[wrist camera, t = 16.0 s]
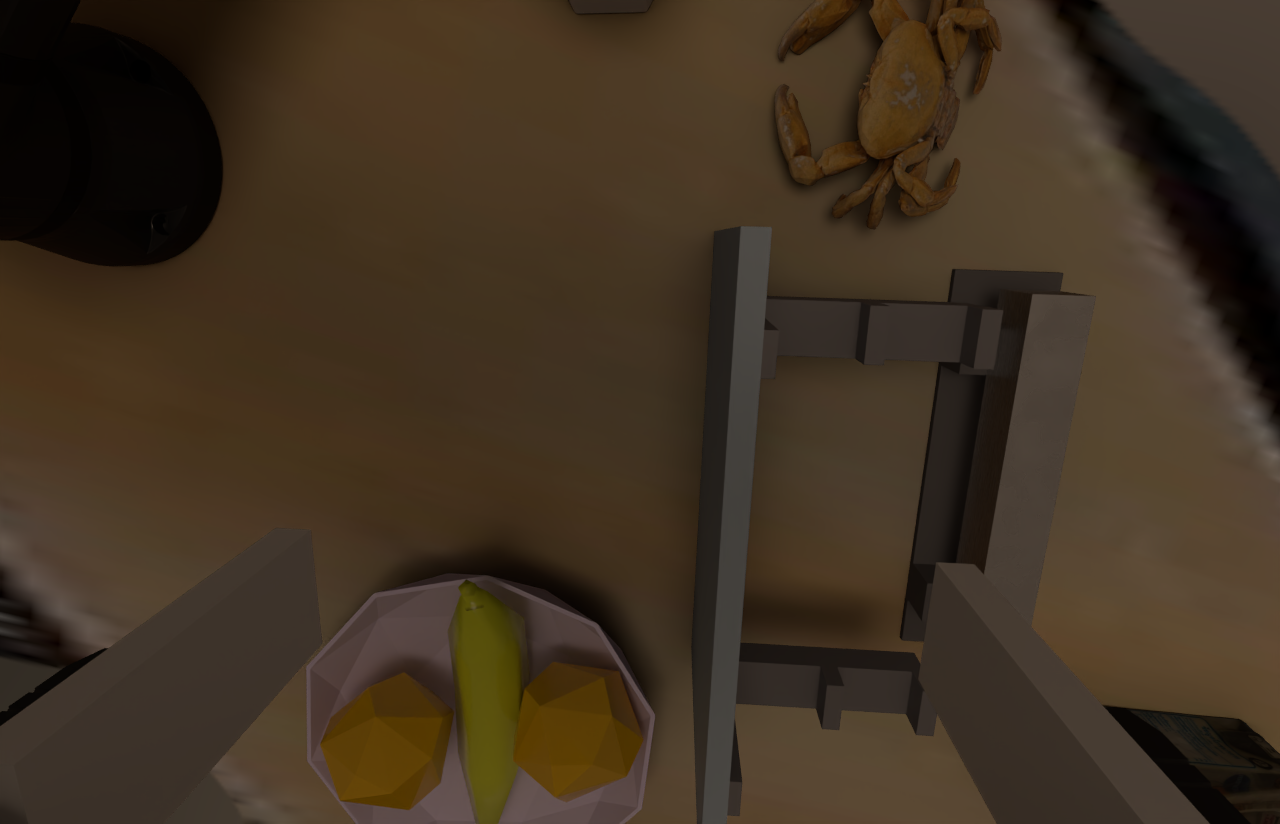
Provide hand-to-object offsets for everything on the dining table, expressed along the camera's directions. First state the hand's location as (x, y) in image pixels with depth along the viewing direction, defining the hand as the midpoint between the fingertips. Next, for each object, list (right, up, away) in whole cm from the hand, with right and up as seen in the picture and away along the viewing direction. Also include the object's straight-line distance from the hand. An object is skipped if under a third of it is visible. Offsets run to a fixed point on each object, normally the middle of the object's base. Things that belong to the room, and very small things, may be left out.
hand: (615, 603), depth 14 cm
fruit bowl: (-11, -18, +41) cm, 46 cm away
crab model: (+15, +24, +29) cm, 41 cm away
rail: (+24, -1, +31) cm, 40 cm away
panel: (+12, +1, +35) cm, 37 cm away
